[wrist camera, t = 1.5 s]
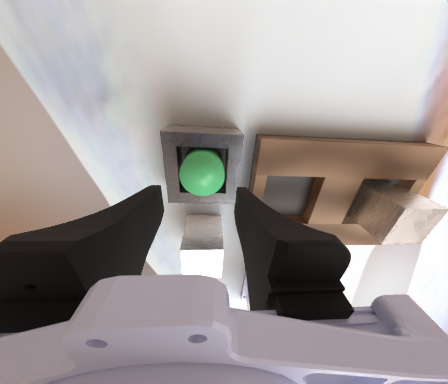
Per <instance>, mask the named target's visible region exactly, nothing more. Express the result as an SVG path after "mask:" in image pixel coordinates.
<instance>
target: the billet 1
mask: <svg viewBox="0 0 448 384" xmlns="http://www.w3.org/2000/svg"><path fill="white" fill-rule="evenodd" d="M180 257H181V267H182V275H186V274H198V275H205V276H211V277H221V275H222V263H223V236H222V222H221V215H187V219H186V224H185V228H184V233H183V238H182V243H181V247H180Z"/></svg>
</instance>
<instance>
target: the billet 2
mask: <svg viewBox="0 0 448 384" xmlns="http://www.w3.org/2000/svg"><path fill="white" fill-rule="evenodd" d="M447 211H448V208H446V207H444V206H442V205H440V204H438V203H436V202H433V201H431V200H429V199H427V198H425V197H423V196H421V195H419V194H417V193H415V192H412V191H410V190H408V189H406V188H404V187H402V186H400V185H398V184H396V183H394V182H391V181H362V183H361V185H360V187H359V189H358V191H357V193H356V195H355V197H354V199H353V201H352V203H351V205H350V207H349V209H348V211H347V214H348V215H349V216H350V217H351V218H352V219H353V220H355V221H356V222H357V223H358V224H359V225H360V226H361V227H363V228H364V229H365V230H366V231H367V232H368V233H369V234H371V235H372V236H373V237H374V238H375V239H376V240H378V241H379V242H380V243H381V244H420V243H421V242H422V241H423V240H424V239H425V237H426V236H427V235H428V234H429V233H430V232H431V230H432V229H433V228H434V227H435V226H436V224H437V223H438V222H439V221H440V220H441V219H442V217H443V216H444V215H445V214H446V213H447Z"/></svg>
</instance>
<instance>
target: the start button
mask: <svg viewBox="0 0 448 384" xmlns="http://www.w3.org/2000/svg"><path fill="white" fill-rule="evenodd" d="M179 177H180V181H181V184H182V185H183V187H184V188H185V189H186V190H187V191H189V192H190V193H192V194H194V195H198V196H208V195H211V194H214V193H215V192H217V191H218V190H219V189H220V188H221V187H222V185H223V183H224V179H225V173H224V167H223V161H222V158H221V156H220V154H219V153H218V152H217V151H216V150H214V149H213V148H205V147H195V148H193V149H191V150H190V151H189V152H188V153H187V155H186V156H185V159H184V161H183V163H182V165H181V168H180V172H179Z"/></svg>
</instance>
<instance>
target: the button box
mask: <svg viewBox="0 0 448 384" xmlns="http://www.w3.org/2000/svg"><path fill="white" fill-rule="evenodd" d="M160 135H161V143H162V151H163V160H164V168H165V177H166V185H167V194H168V202H169V203H232V204H235V200H236V190H237V187H238V183H239V174H240V165H241V155H242V146H243V137H244V135H243V134H242V132H241V131H240V130H239V129H238V128H220V127H200V126H180V125H168V126H167V127H166V128H164V129H163V130H161V131H160ZM195 147H205V148H213V149H214V150H216V151H217V152H218V153H219V154H220V156H221V158H222V161H223V167H224V173H225V179H224V183H223V185H222V187H221V188H220V189H219V190H218V191H217V192H215V193H214V194H211V195H208V196H198V195H194V194H192V193H190V192H189V191H187V190H186V189H185V188H184V187H183V185H182V184H181V181H180V177H179V172H180V168H181V165H182V163H183V161H184V159H185V156H186V155H187V153H188V152H189V151H190V150H191V149H193V148H195Z"/></svg>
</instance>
